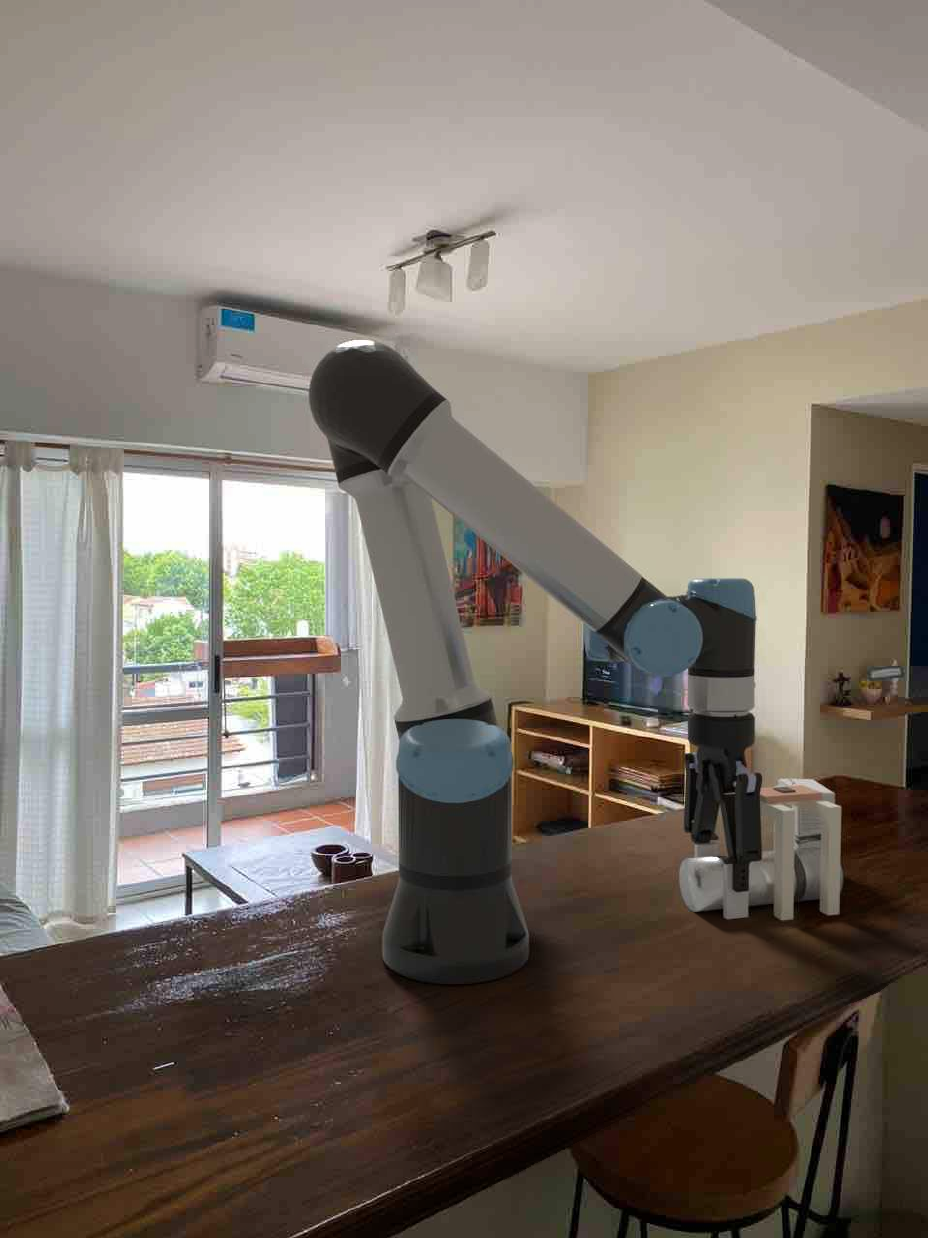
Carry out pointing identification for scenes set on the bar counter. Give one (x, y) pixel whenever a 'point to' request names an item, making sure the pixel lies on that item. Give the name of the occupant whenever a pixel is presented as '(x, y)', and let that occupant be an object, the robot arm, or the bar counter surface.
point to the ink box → (808, 815)
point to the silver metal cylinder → (707, 879)
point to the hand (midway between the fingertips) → (720, 906)
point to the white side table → (780, 810)
